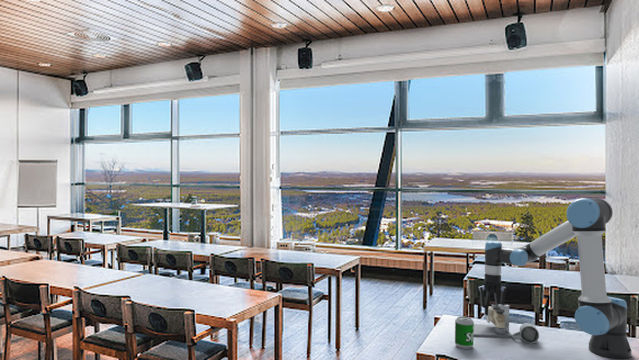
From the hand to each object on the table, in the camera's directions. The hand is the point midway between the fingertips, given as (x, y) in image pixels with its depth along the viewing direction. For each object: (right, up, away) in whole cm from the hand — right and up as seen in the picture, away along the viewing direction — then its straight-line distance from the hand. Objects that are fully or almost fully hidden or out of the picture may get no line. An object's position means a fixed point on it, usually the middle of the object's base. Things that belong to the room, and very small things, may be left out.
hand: (491, 322), depth 215 cm
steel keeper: (+1, -3, -7) cm, 7 cm away
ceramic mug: (+9, -3, -16) cm, 19 cm away
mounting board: (-4, -3, -5) cm, 7 cm away
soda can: (-22, -3, -25) cm, 33 cm away
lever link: (0, +1, -5) cm, 5 cm away
